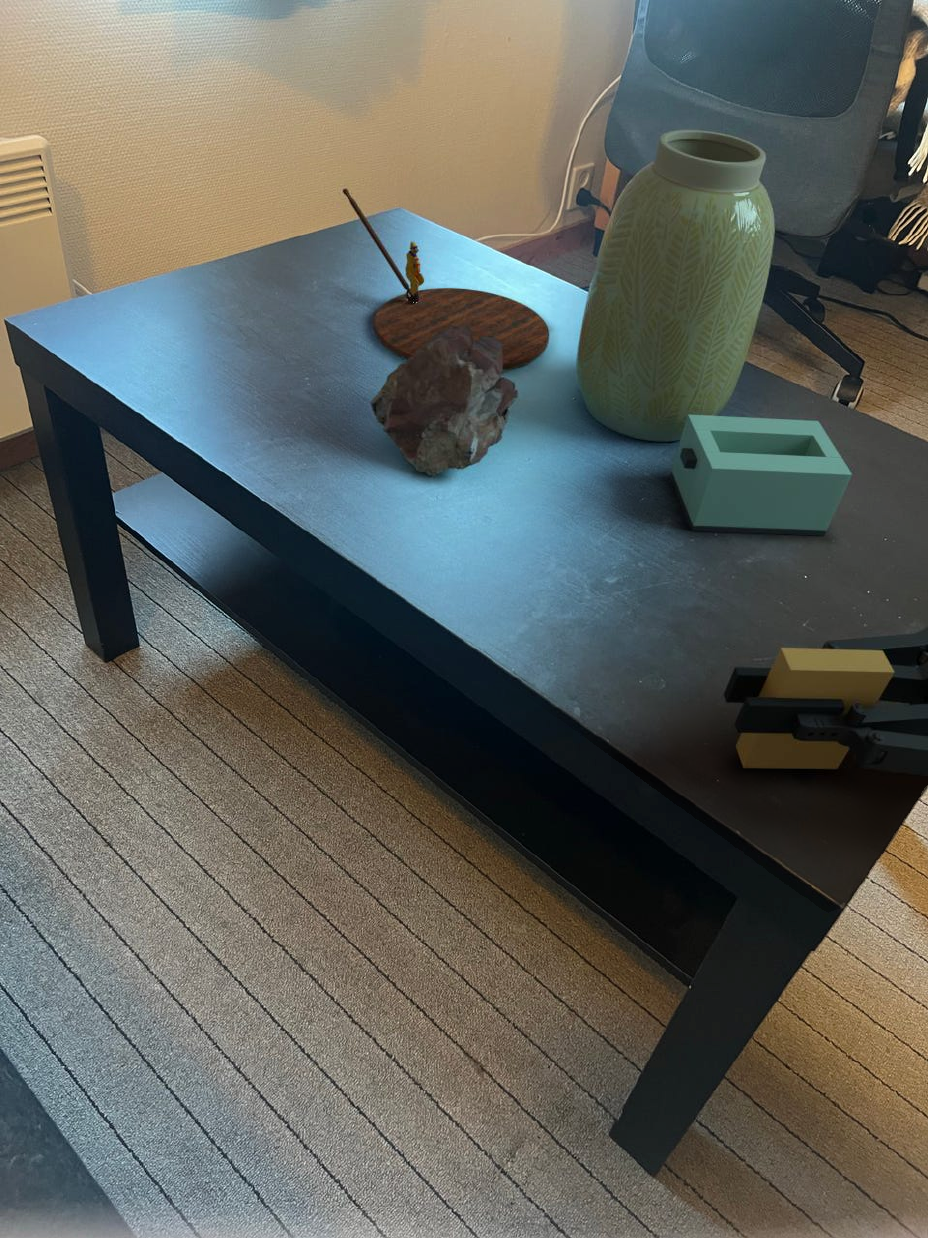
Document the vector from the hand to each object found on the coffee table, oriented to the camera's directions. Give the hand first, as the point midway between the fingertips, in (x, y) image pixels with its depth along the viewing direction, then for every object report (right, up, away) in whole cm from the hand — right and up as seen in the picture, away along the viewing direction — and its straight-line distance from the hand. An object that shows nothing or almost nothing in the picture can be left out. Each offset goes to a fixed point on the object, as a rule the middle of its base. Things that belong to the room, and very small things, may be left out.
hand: (736, 699), depth 62 cm
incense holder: (-22, +42, +52) cm, 70 cm away
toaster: (+9, +16, +28) cm, 34 cm away
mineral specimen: (-20, +23, +32) cm, 44 cm away
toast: (+5, -5, +5) cm, 8 cm away
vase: (+2, +28, +40) cm, 49 cm away
